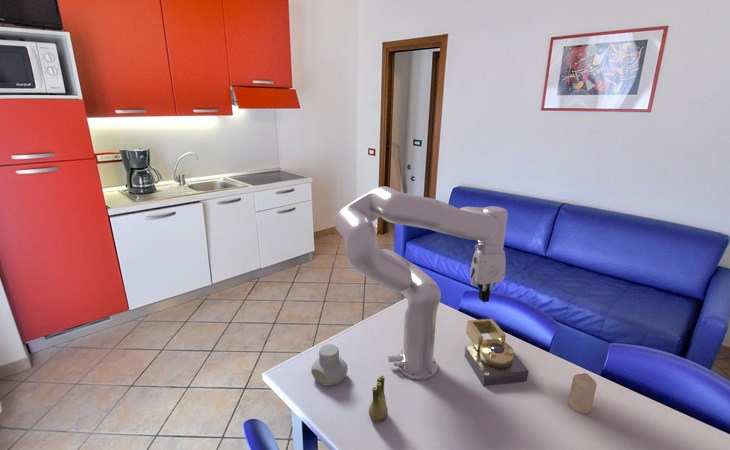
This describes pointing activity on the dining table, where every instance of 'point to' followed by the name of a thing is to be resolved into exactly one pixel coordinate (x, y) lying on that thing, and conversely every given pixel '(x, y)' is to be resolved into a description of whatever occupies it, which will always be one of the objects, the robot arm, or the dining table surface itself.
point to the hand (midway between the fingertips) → (483, 300)
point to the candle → (582, 393)
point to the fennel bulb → (378, 402)
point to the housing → (495, 369)
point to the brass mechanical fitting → (490, 343)
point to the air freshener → (329, 366)
